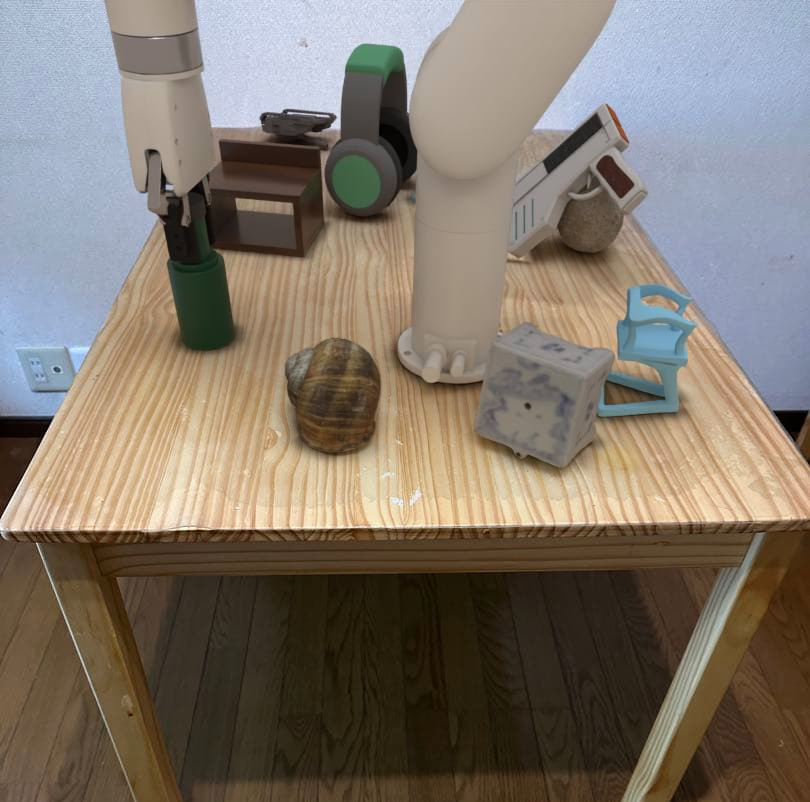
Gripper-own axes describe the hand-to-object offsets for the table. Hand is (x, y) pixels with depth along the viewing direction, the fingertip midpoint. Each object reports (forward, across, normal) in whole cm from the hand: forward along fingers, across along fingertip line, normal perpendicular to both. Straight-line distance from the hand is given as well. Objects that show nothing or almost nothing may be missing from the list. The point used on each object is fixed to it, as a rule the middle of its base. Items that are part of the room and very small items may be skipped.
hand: (193, 250), depth 82 cm
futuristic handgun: (+6, -22, +41) cm, 47 cm away
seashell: (+10, +13, +18) cm, 25 cm away
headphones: (+10, -44, +10) cm, 47 cm away
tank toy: (+5, -67, -8) cm, 67 cm away
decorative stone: (+10, -33, +42) cm, 54 cm away
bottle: (+10, 0, 0) cm, 10 cm away
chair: (+10, +3, +48) cm, 49 cm away
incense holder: (+10, +12, +38) cm, 41 cm away
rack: (+10, -28, -2) cm, 30 cm away
